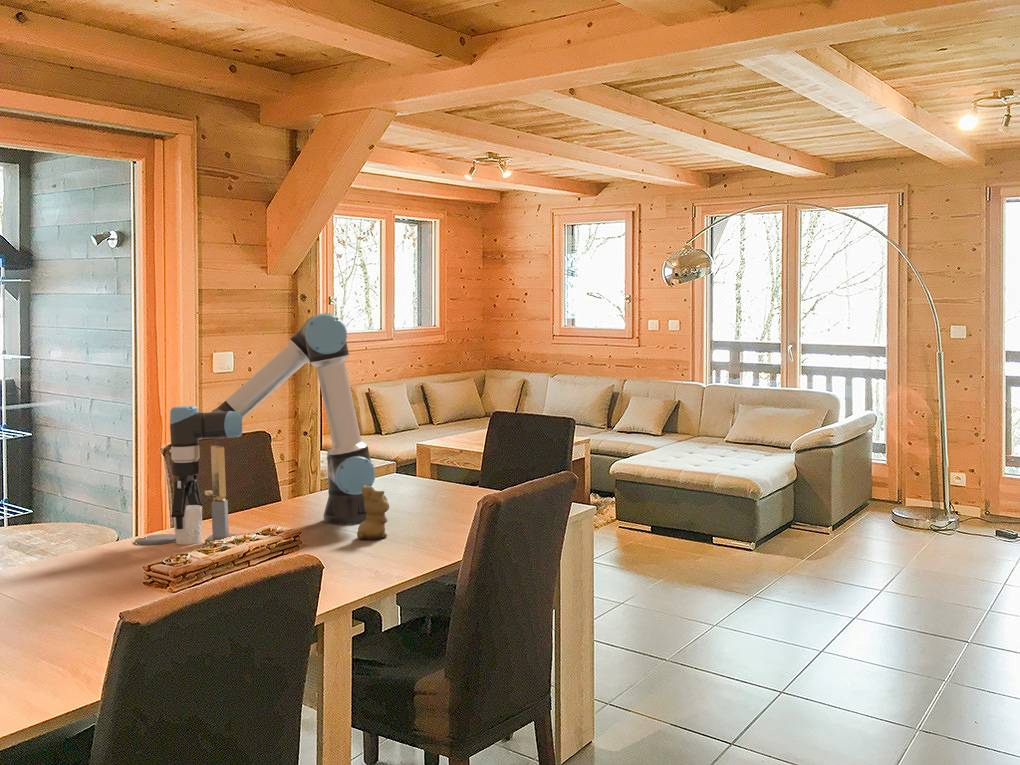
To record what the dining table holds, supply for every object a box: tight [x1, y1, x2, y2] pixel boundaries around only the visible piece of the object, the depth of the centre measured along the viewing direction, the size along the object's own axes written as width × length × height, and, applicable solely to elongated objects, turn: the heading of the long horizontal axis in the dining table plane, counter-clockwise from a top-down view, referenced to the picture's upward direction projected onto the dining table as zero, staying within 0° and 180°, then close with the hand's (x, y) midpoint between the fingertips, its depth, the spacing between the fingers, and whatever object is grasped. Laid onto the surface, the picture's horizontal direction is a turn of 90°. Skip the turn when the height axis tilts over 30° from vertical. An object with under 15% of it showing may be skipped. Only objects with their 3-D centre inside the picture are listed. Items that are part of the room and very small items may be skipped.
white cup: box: [173, 504, 203, 546], centre depth 260 cm, size 8×8×10 cm
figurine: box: [356, 485, 390, 541], centre depth 259 cm, size 10×8×15 cm
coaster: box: [134, 533, 176, 546], centre depth 263 cm, size 12×12×1 cm
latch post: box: [204, 499, 237, 544], centre depth 260 cm, size 7×7×12 cm
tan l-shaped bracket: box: [204, 444, 227, 501], centre depth 263 cm, size 16×3×15 cm, turn 33°
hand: (188, 535), depth 260 cm, fingers open, 13 cm apart
